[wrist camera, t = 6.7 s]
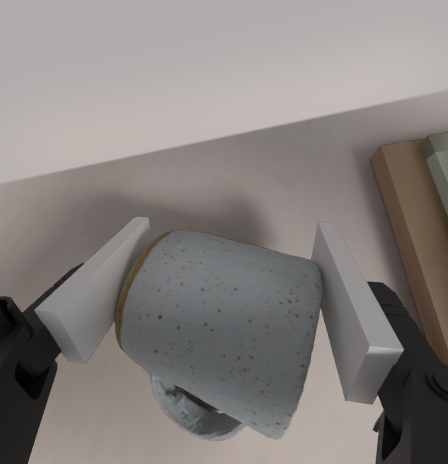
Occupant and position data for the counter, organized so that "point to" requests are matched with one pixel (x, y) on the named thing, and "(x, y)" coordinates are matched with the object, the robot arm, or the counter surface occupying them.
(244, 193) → the counter surface
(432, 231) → the board
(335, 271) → the robot arm
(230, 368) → the ceramic mug
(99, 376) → the counter surface
